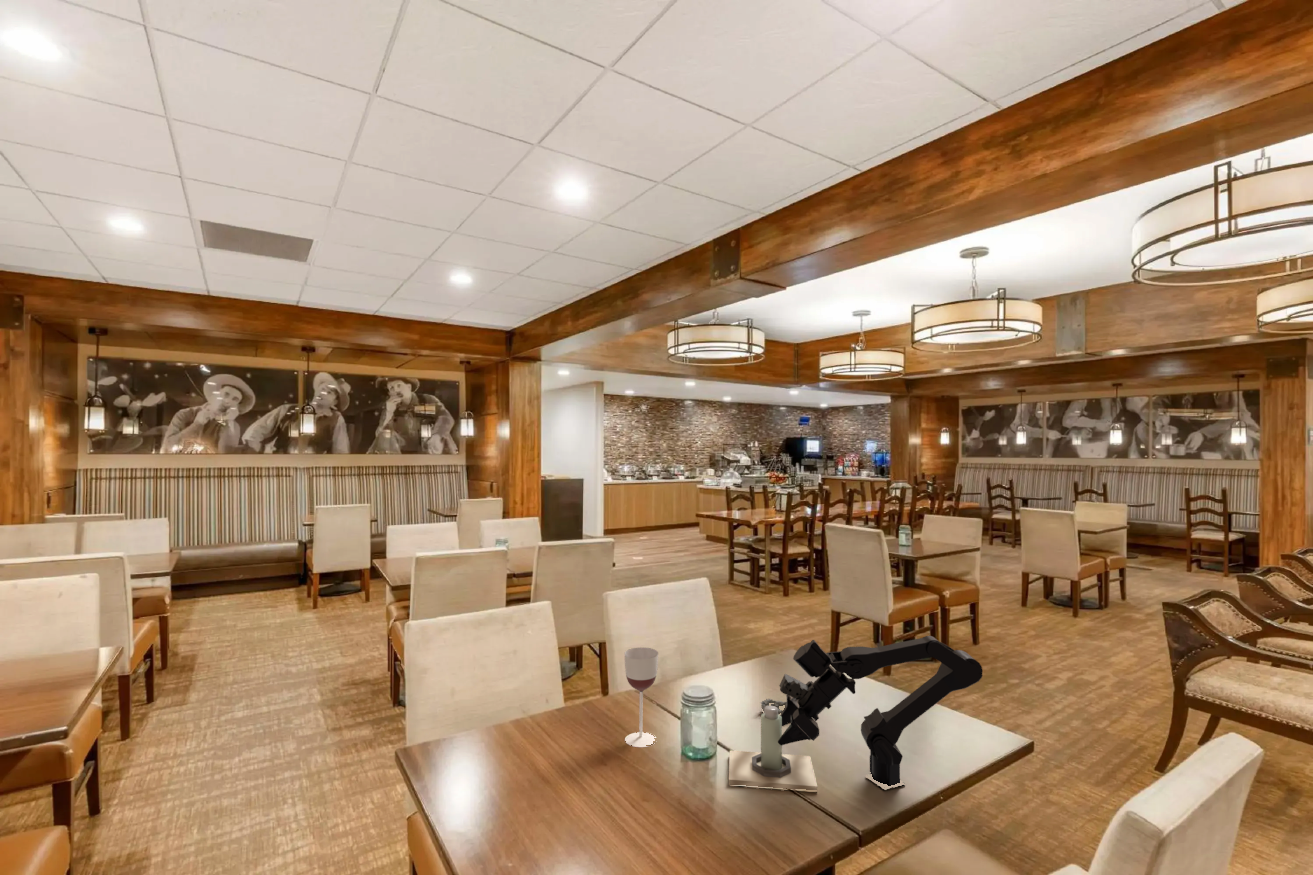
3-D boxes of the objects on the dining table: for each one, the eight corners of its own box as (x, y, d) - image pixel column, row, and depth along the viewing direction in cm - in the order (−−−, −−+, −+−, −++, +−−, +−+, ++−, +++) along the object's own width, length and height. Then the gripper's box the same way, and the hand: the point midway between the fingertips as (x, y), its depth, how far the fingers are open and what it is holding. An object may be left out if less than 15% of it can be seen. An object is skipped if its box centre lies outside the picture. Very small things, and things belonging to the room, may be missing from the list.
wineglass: (659, 731, 166) (659, 647, 167) (655, 749, 156) (656, 659, 157) (626, 730, 167) (627, 646, 168) (621, 747, 157) (621, 658, 158)
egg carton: (802, 716, 177) (802, 702, 177) (789, 724, 172) (789, 710, 172) (770, 706, 184) (770, 692, 184) (757, 713, 179) (757, 700, 179)
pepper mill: (786, 766, 145) (785, 707, 145) (775, 774, 141) (774, 714, 141) (768, 759, 148) (767, 702, 148) (757, 767, 144) (756, 708, 145)
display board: (810, 762, 150) (810, 751, 150) (817, 792, 136) (817, 780, 136) (729, 756, 153) (729, 745, 153) (728, 785, 139) (728, 773, 139)
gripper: (795, 652, 154) (752, 694, 155) (803, 679, 135) (754, 726, 136) (827, 685, 152) (784, 727, 153) (840, 716, 134) (790, 763, 135)
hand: (777, 734), depth 144 cm, fingers open, 9 cm apart
